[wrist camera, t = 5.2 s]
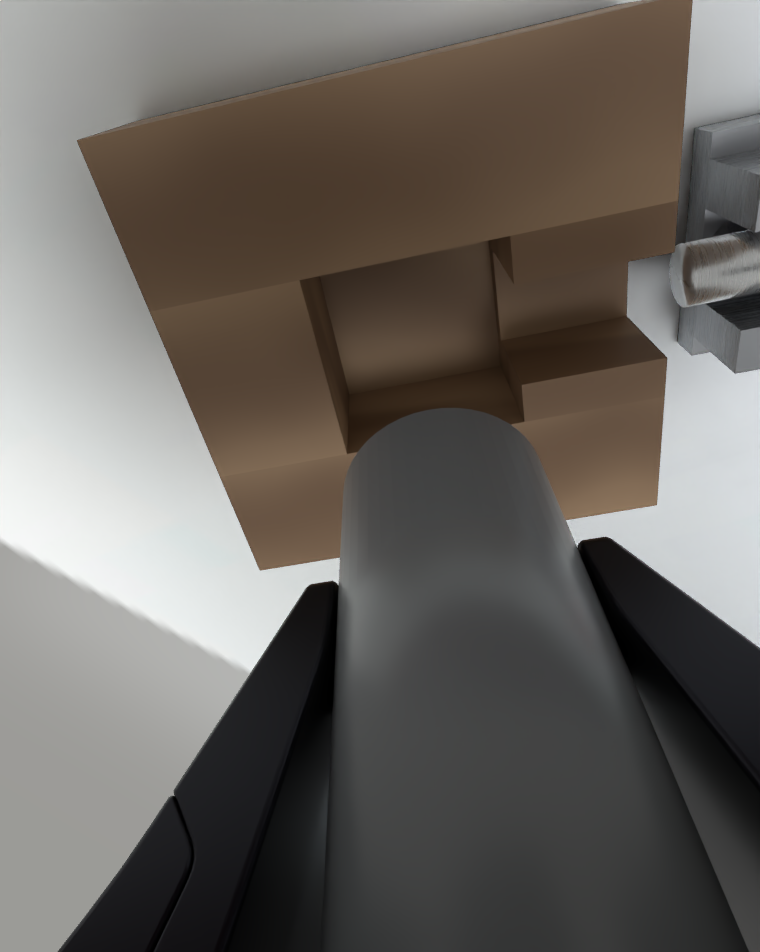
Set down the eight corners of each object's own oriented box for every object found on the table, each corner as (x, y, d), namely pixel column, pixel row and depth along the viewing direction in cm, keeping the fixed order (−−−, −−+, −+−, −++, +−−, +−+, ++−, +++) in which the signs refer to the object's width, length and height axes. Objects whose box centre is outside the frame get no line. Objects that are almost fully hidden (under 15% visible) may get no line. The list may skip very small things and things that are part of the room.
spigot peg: (548, 553, 11) (804, 1257, 5) (366, 582, 12) (367, 1280, 5) (538, 389, 9) (945, 1188, 3) (321, 430, 10) (229, 1230, 3)
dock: (611, 434, 21) (656, 505, 18) (275, 493, 22) (259, 570, 19) (618, 4, 15) (693, -9, 11) (137, 120, 16) (76, 140, 12)
